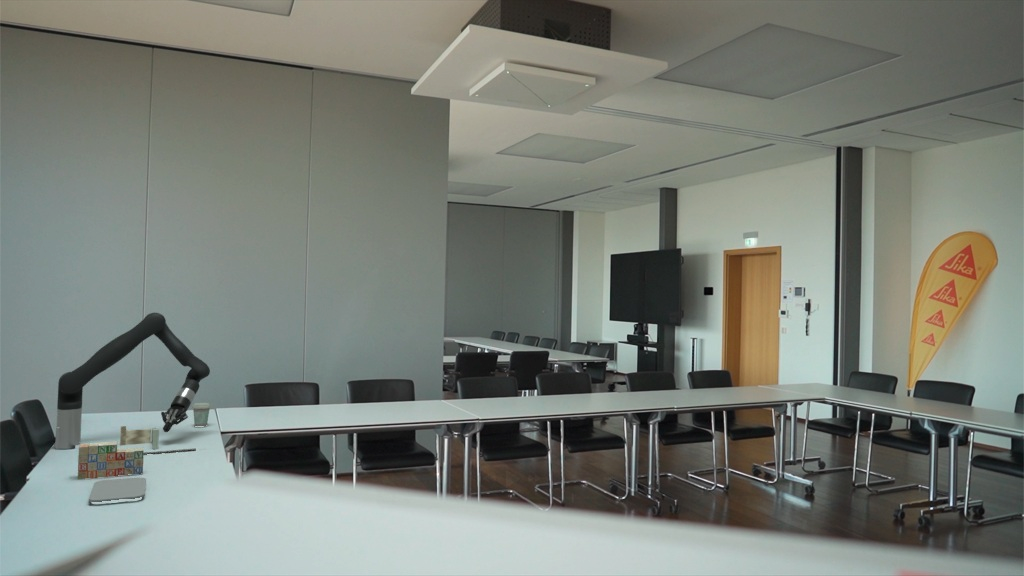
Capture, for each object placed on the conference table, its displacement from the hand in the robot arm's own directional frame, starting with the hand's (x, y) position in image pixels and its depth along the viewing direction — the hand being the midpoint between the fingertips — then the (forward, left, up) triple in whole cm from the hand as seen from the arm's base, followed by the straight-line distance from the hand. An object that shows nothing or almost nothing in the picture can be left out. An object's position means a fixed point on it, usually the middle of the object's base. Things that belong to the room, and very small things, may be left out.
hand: (165, 430), depth 305 cm
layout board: (-3, +3, -8) cm, 9 cm away
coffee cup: (+21, +49, -8) cm, 54 cm away
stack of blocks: (-22, -41, -8) cm, 47 cm away
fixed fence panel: (-11, +9, -7) cm, 16 cm away
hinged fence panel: (-4, +2, -7) cm, 8 cm away
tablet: (-20, -69, -8) cm, 72 cm away
